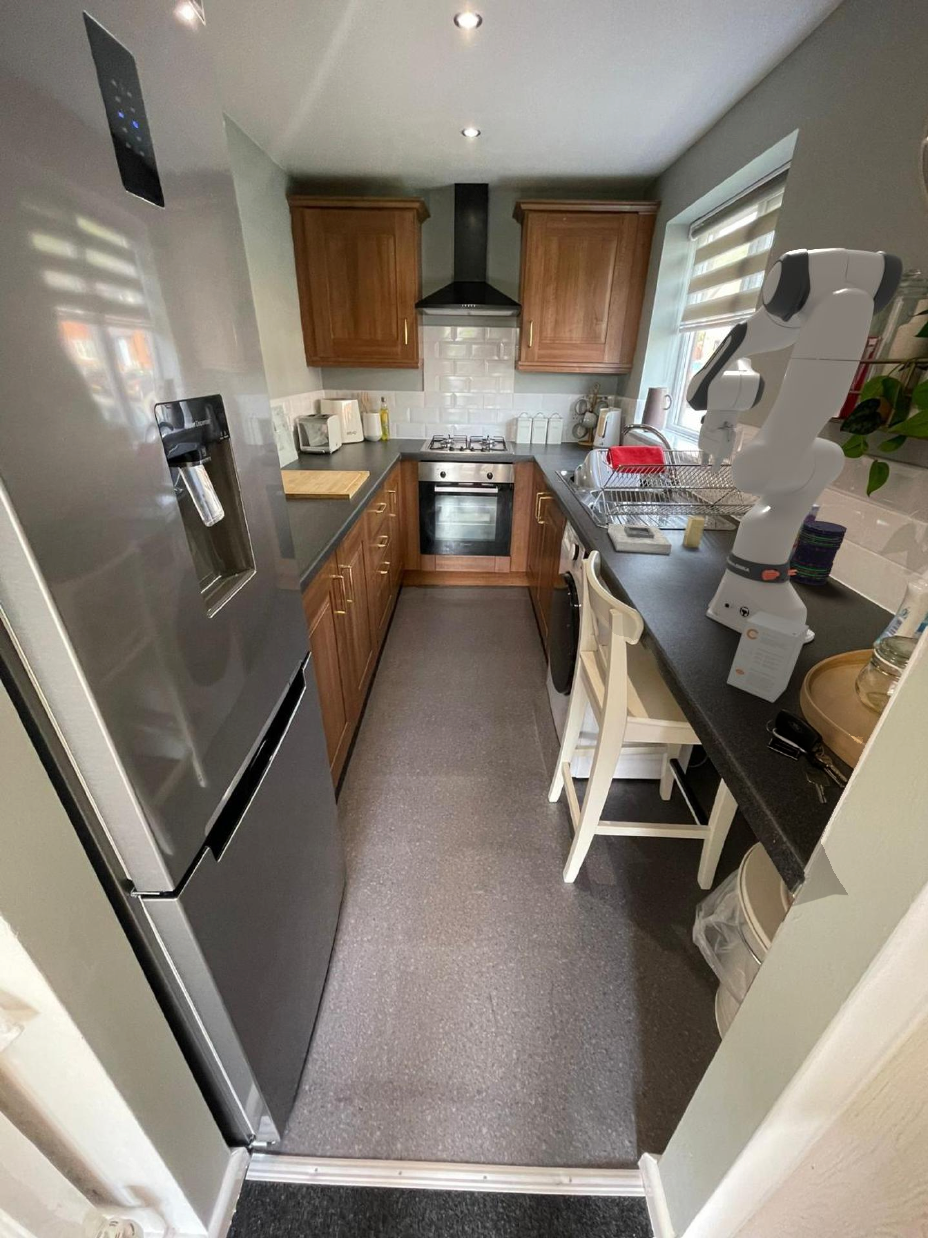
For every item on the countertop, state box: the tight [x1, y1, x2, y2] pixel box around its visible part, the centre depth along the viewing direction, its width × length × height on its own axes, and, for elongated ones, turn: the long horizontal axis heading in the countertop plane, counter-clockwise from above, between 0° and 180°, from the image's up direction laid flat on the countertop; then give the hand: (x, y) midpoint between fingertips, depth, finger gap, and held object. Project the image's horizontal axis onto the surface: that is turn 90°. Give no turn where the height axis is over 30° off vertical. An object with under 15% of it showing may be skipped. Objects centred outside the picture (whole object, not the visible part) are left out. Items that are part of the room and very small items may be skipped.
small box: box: [726, 611, 810, 703], centre depth 86 cm, size 8×6×13 cm
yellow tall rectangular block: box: [682, 515, 706, 549], centre depth 158 cm, size 4×4×9 cm
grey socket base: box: [607, 523, 673, 555], centre depth 161 cm, size 20×16×4 cm
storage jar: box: [789, 520, 848, 586], centre depth 134 cm, size 10×10×15 cm
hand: (709, 469), depth 149 cm, fingers open, 8 cm apart
